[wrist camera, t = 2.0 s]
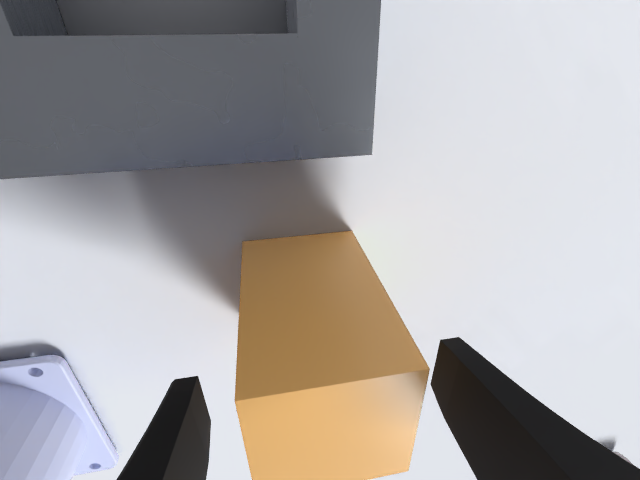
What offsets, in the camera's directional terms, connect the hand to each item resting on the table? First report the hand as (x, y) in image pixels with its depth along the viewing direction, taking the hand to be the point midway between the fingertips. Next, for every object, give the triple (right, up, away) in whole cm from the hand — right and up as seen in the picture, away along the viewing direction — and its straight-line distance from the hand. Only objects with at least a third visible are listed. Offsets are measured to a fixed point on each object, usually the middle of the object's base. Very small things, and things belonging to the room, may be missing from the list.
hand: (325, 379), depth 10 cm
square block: (-1, +2, +4) cm, 5 cm away
